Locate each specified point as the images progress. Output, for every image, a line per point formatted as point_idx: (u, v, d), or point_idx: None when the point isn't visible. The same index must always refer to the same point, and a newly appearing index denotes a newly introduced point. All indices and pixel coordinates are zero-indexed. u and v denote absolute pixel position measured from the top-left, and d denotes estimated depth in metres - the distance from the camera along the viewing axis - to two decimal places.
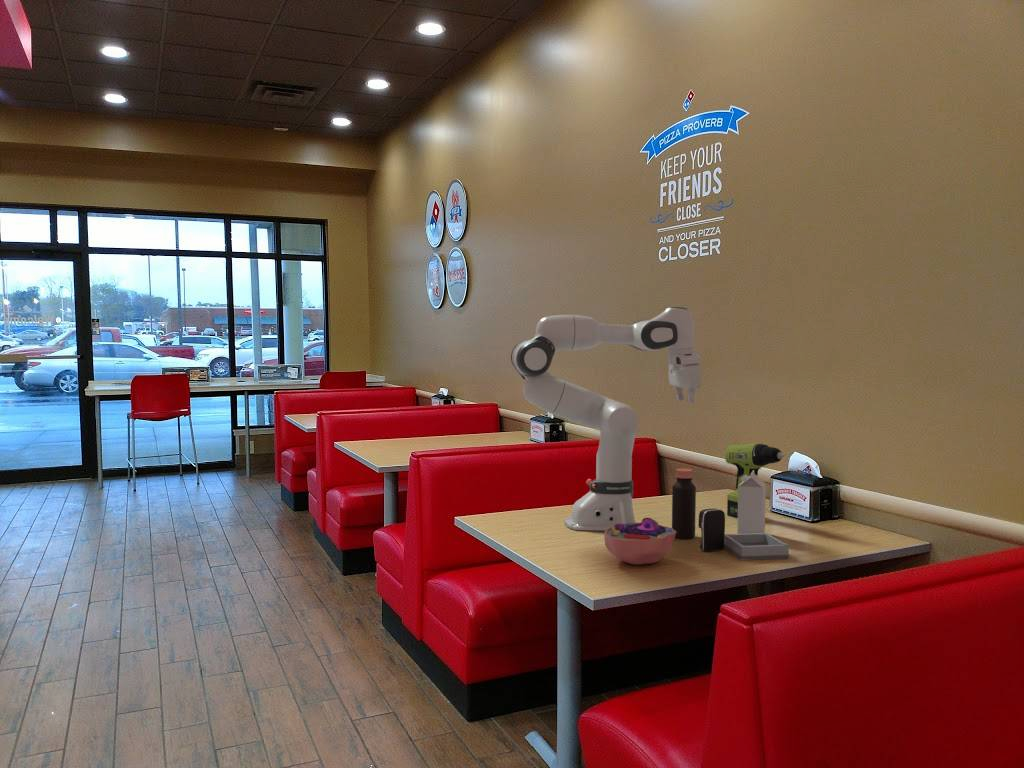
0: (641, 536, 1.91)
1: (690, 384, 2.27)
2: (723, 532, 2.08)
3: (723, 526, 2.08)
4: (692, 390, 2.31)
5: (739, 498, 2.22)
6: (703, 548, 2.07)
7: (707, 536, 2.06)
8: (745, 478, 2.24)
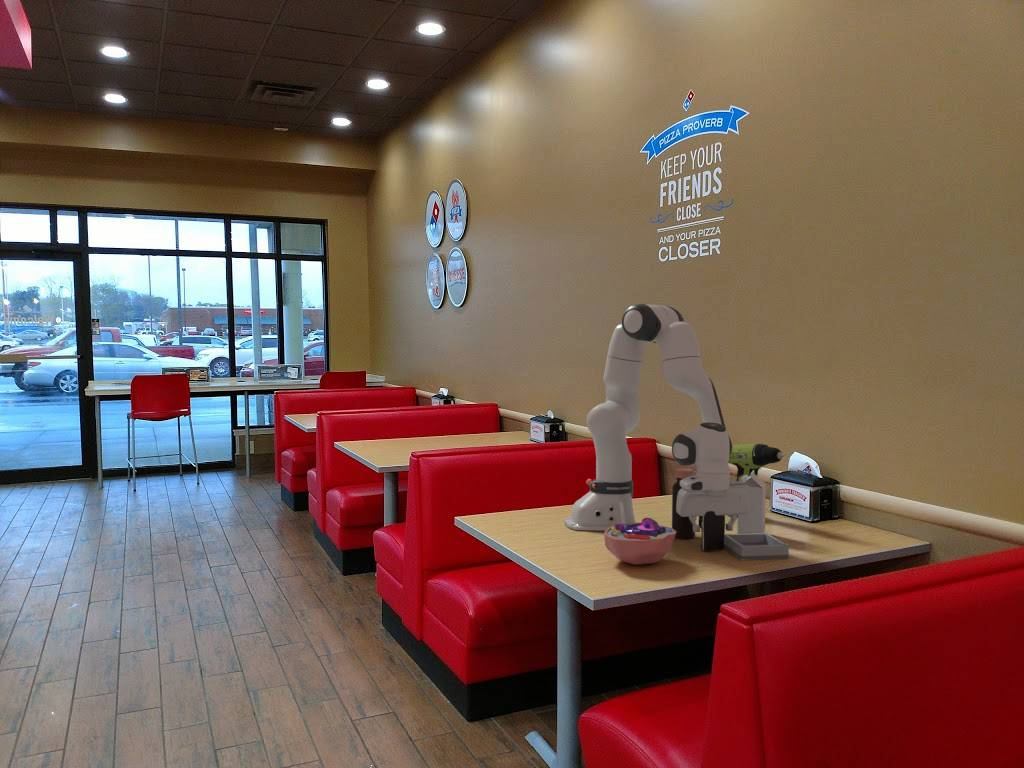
0: (641, 536, 1.91)
1: (676, 509, 2.09)
2: (723, 532, 2.08)
3: (723, 526, 2.08)
4: (690, 518, 2.08)
5: None
6: (703, 548, 2.07)
7: (707, 536, 2.06)
8: (745, 478, 2.24)
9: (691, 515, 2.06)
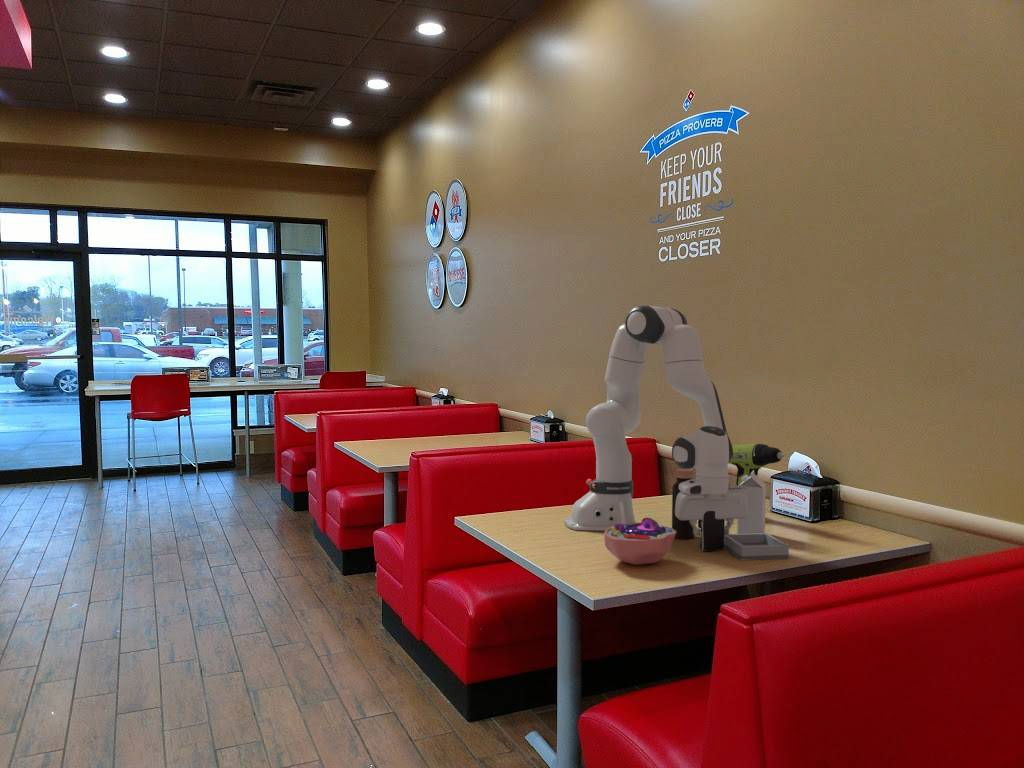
0: (641, 536, 1.91)
1: (675, 512, 2.09)
2: (723, 532, 2.08)
3: (723, 526, 2.08)
4: (691, 521, 2.08)
5: None
6: (703, 548, 2.07)
7: (707, 536, 2.06)
8: (745, 478, 2.24)
9: (689, 519, 2.06)
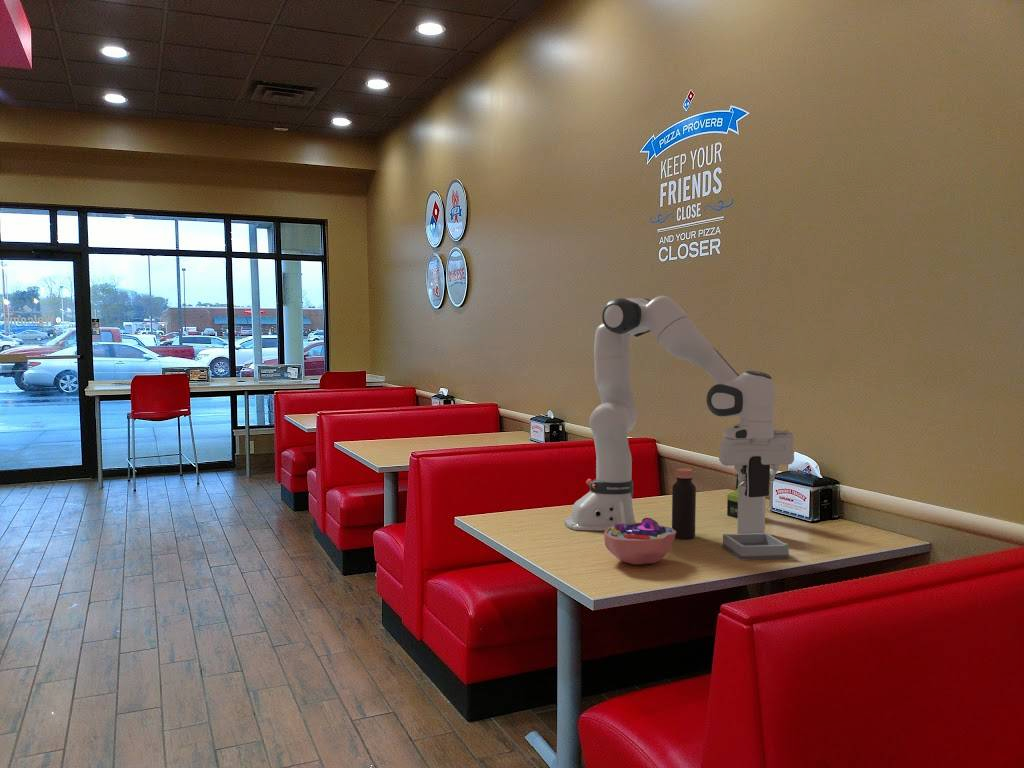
0: (641, 536, 1.91)
1: (719, 458, 2.05)
2: (768, 478, 2.04)
3: (768, 472, 2.04)
4: (735, 467, 2.04)
5: (739, 498, 2.22)
6: (748, 494, 2.03)
7: (752, 481, 2.02)
8: (745, 478, 2.24)
9: (735, 464, 2.02)
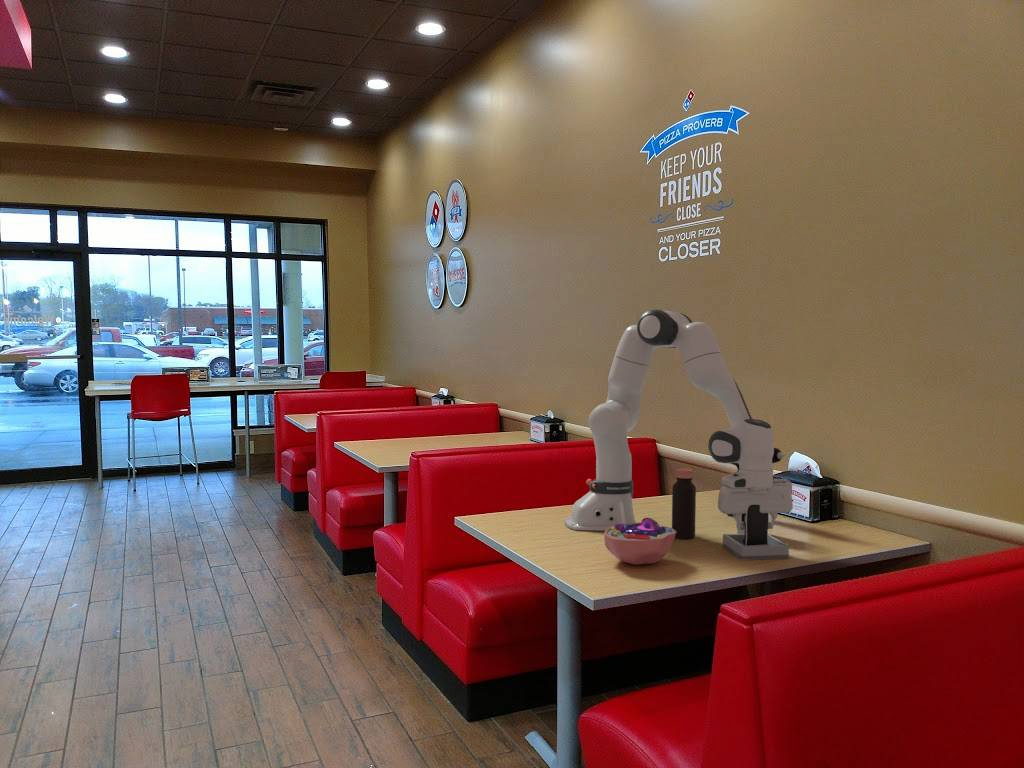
0: (641, 536, 1.91)
1: (718, 506, 2.06)
2: (766, 526, 2.05)
3: (766, 520, 2.05)
4: (734, 515, 2.05)
5: None
6: (746, 542, 2.04)
7: (750, 530, 2.03)
8: None
9: (733, 512, 2.03)
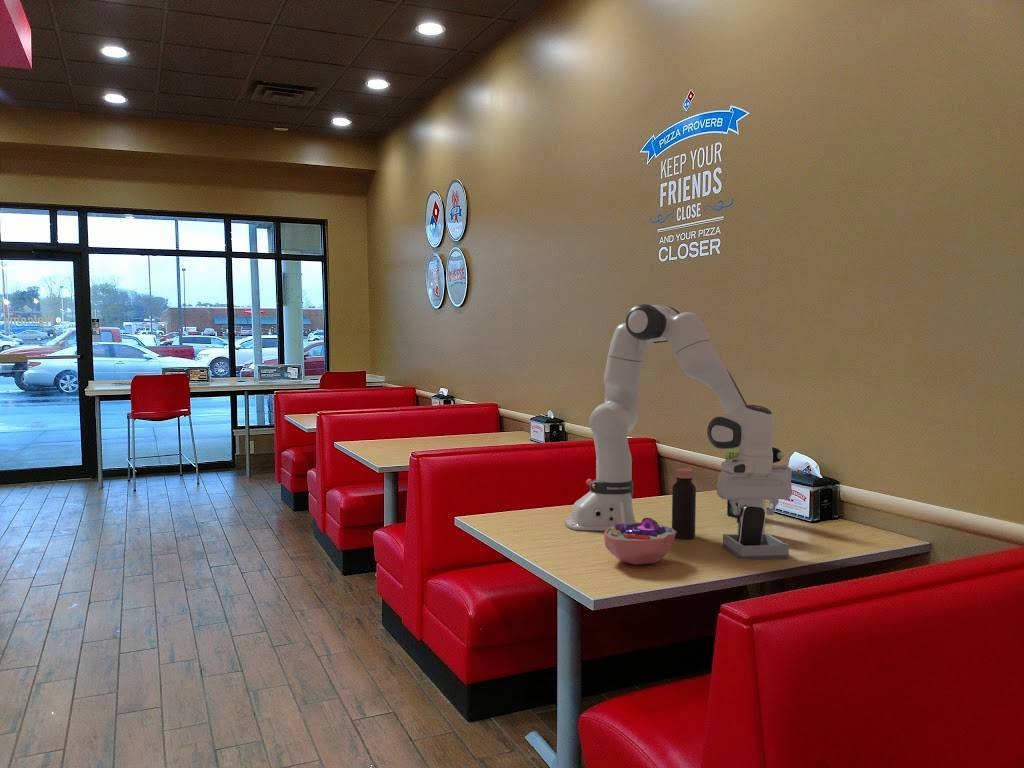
0: (641, 536, 1.91)
1: (717, 491, 2.06)
2: (761, 531, 2.06)
3: (762, 524, 2.06)
4: (731, 500, 2.05)
5: None
6: None
7: (745, 531, 2.04)
8: None
9: (732, 498, 2.03)
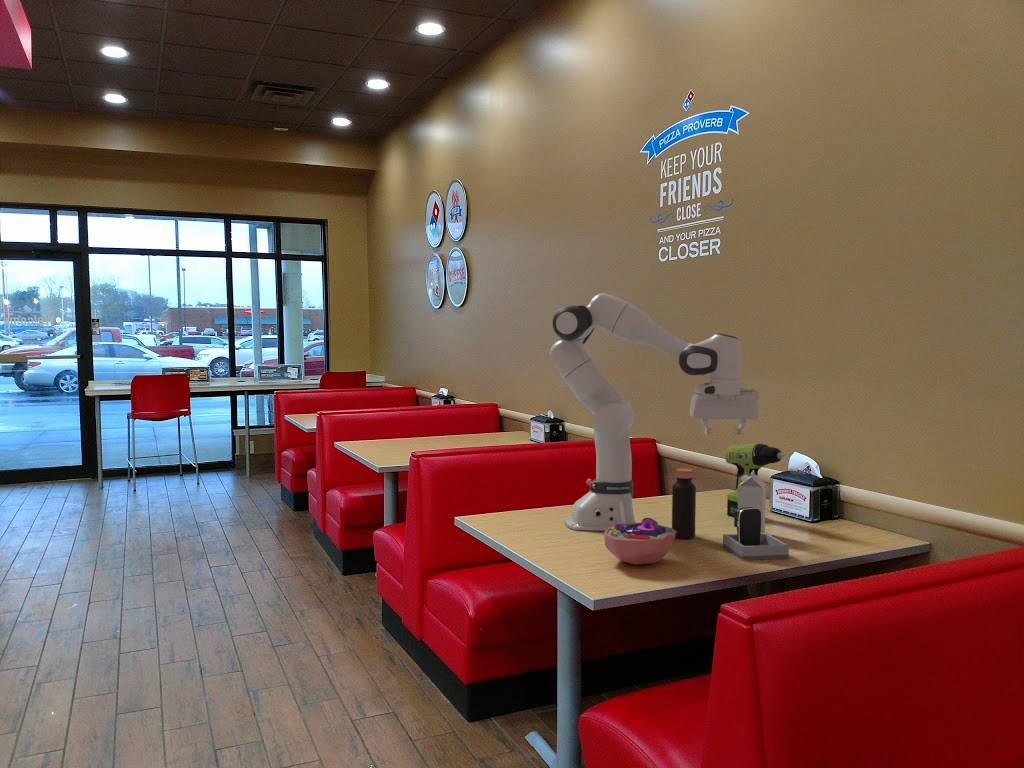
0: (641, 536, 1.91)
1: (690, 412, 2.25)
2: (759, 531, 2.05)
3: (759, 525, 2.05)
4: (702, 421, 2.24)
5: (739, 498, 2.22)
6: None
7: (743, 535, 2.03)
8: (745, 478, 2.24)
9: (703, 417, 2.23)
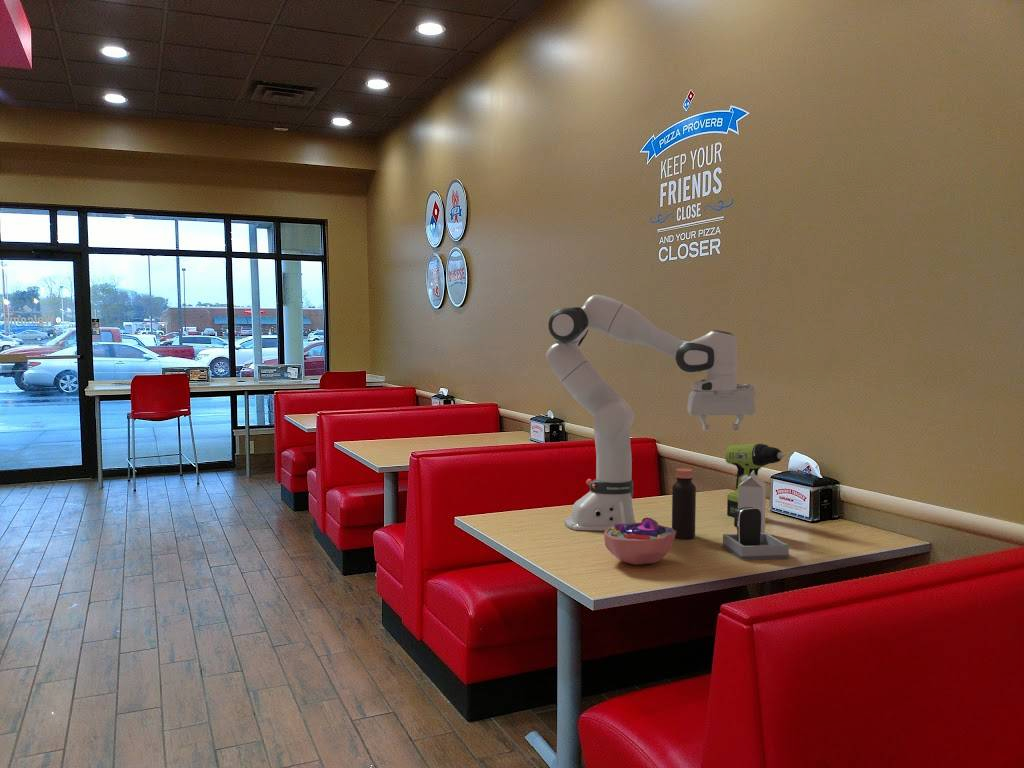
0: (641, 536, 1.91)
1: None
2: (759, 531, 2.05)
3: (759, 525, 2.05)
4: (700, 417, 2.26)
5: (739, 498, 2.22)
6: None
7: (743, 535, 2.03)
8: (745, 478, 2.24)
9: (701, 414, 2.24)
